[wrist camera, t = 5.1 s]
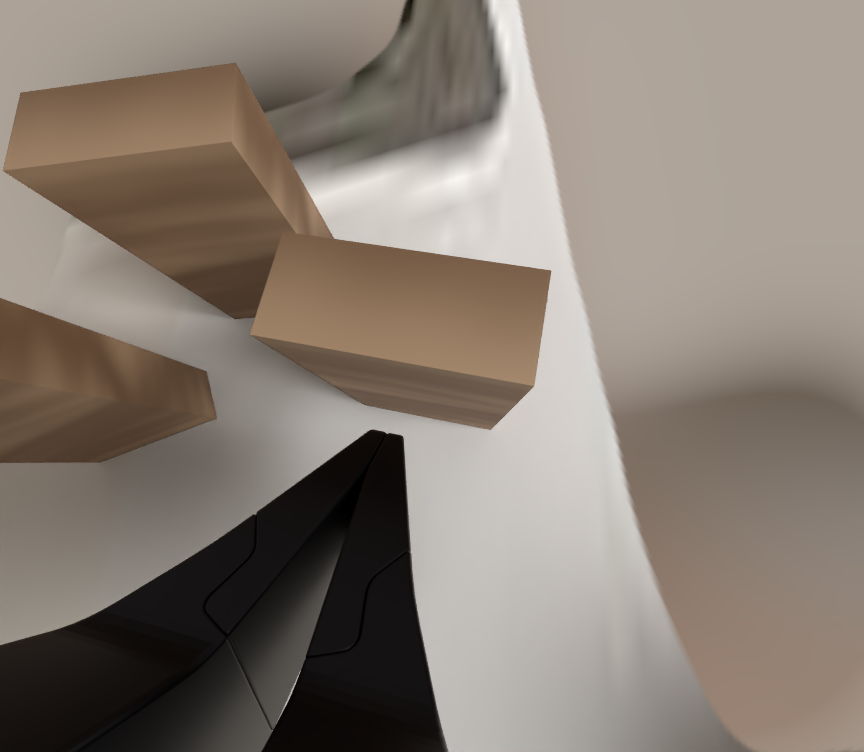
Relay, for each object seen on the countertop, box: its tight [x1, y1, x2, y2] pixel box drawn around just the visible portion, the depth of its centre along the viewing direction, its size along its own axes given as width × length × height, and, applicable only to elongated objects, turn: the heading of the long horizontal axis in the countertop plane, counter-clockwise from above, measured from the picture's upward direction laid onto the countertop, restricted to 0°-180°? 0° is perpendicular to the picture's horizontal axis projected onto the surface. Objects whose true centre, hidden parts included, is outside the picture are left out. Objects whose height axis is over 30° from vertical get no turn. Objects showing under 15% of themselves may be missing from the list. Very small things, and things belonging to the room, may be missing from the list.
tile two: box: [0, 298, 217, 463], centre depth 13 cm, size 3×6×10 cm, turn 111°
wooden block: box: [250, 232, 551, 430], centre depth 13 cm, size 3×6×10 cm, turn 79°
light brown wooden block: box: [3, 63, 334, 319], centre depth 14 cm, size 3×6×10 cm, turn 95°
